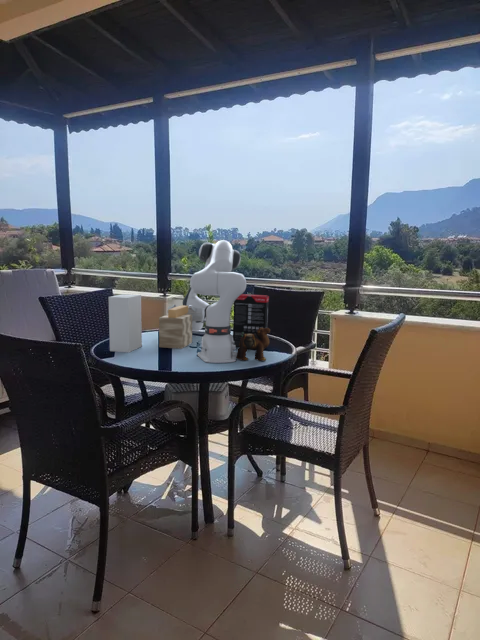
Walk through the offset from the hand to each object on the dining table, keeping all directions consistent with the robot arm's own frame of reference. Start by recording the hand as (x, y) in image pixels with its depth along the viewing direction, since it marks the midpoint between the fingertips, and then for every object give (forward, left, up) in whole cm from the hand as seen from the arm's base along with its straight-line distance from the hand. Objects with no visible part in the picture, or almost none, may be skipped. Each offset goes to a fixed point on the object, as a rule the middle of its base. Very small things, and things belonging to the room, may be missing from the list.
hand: (182, 306), depth 233 cm
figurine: (-43, -31, -19) cm, 56 cm away
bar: (-5, +2, -4) cm, 7 cm away
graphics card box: (-18, -34, -19) cm, 43 cm away
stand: (-17, +27, -19) cm, 37 cm away
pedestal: (-9, +3, -19) cm, 21 cm away
